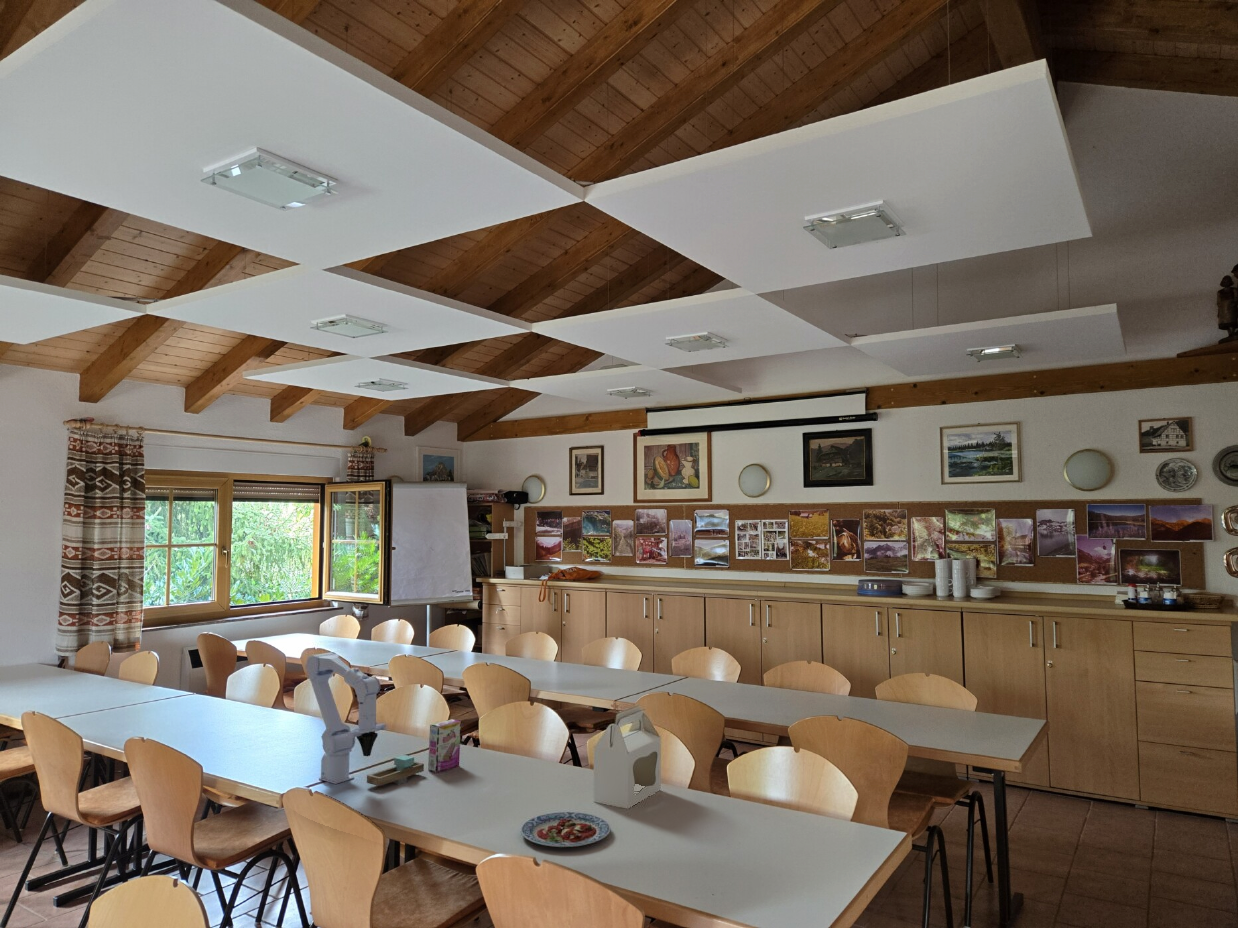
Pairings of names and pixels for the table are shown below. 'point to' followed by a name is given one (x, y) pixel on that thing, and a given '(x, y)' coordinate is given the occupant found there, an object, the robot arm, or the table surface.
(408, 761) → the block
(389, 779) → the wooden tray
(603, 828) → the ceramic plate
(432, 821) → the table surface
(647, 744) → the gable box
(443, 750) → the candy bar box
